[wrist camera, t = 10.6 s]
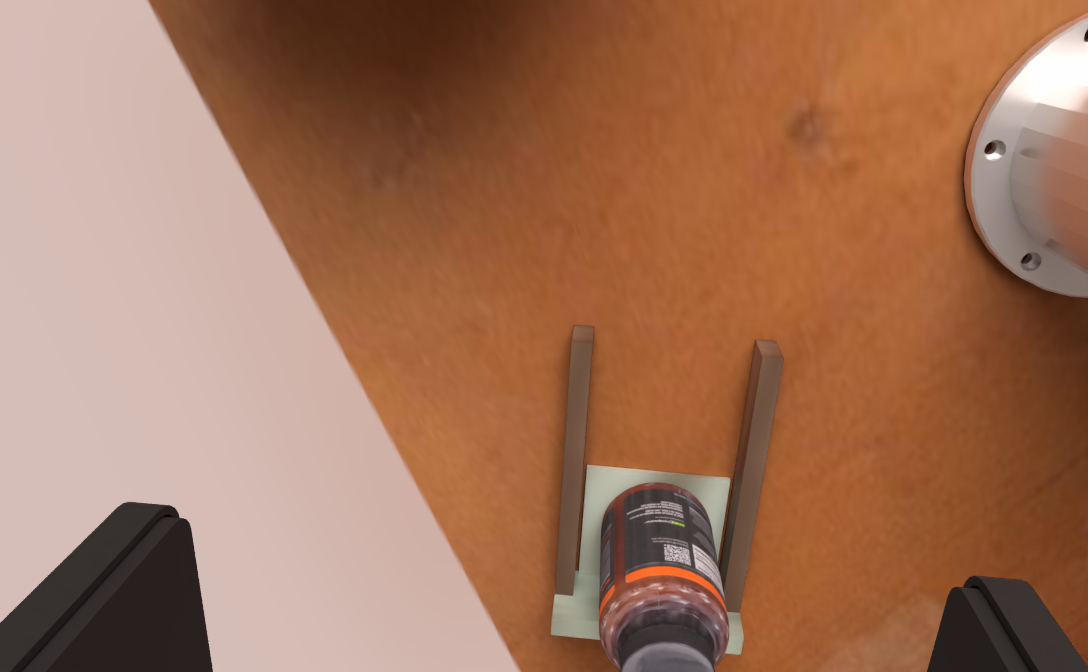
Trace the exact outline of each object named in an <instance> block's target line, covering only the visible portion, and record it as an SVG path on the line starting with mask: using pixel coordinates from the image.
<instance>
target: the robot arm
mask: <svg viewBox="0 0 1088 672" xmlns="http://www.w3.org/2000/svg"><path fill="white" fill-rule="evenodd" d="M1087 29H1088V13H1086V14H1084V15H1082V16H1080V17H1078V18H1076V19H1074V20H1072V21H1070V22H1068V23H1066V24H1064V25H1063V26H1061V27H1059V28H1057V29H1055V30H1054V31H1053V32H1051V33H1050V34H1049V35H1047V36H1046V37H1045V38H1043V39H1042V40H1040V41H1039V42H1038V43H1036V44H1035V45H1034V46H1032V47H1031V48H1030V49H1029V50H1028V51H1027V52H1026V53H1025V54H1024V55H1023V56H1022V57H1021V58H1020V59H1019V60H1018V61H1017V62H1016V63H1015V64H1014V65H1013V66H1012V67H1011V68H1010V69H1009V70H1008V71H1007V72H1006V73H1005V75H1004V76H1003V77H1002V79H1001V80H1000V82H999V83H998V84H997V86H996V87H995V88H994V90H993V91H992V93H991V94H990V95H989V97H988V98H987V100H986V102H985V104H984V106H983V108H982V111H981V113H980V115H979V117H978V119H977V121H976V123H975V125H974V128H973V131H972V135H971V138H970V142H969V145H968V148H967V152H966V161H965V171H964V187H965V196H966V205H967V208H968V211H969V214H970V217H971V220H972V223H973V226H974V229H975V230H976V232H977V234H978V235H979V237H980V238H981V240H982V242H983V243H984V245H985V247H986V248H987V250H988V251H989V252H990V253H991V254H992V255H993V256H994V257H995V258H996V259H997V260H998V261H999V262H1000V263H1001V264H1002V265H1003V266H1005V267H1006V268H1007V269H1009V270H1010V271H1011V272H1013V273H1014V274H1016V275H1017V276H1019V277H1020V278H1022V279H1024V280H1026V281H1028V282H1030V283H1032V284H1034V285H1036V286H1038V287H1040V288H1042V289H1044V290H1047V291H1051V292H1055V293H1058V294H1062V295H1066V296H1070V297H1082V298H1088V39H1087V40H1085V41H1084V35H1085V33H1086V31H1087ZM990 142H991V143H992V148H991V150H990V151H989V152H986V153H984V149H985V147H986V145H987V144H988V143H990ZM1026 254H1027V257H1026V259H1025V260H1023V261H1021V260H1022V258H1023V256H1025V255H1026ZM0 672H213V669H212V663H211V657H210V650H209V643H208V637H207V630H206V624H205V617H204V610H203V604H202V597H201V591H200V584H199V578H198V571H197V564H196V558H195V552H194V545H193V538H192V532H191V527H190V523H189V522H188V521H187V520H186V519H184V518H179V514H178V512H177V510H176V509H175V508H174V507H172V506H170V505H158V504H147V503H136V502H127V503H123V504H122V505H120V506H119V507H118V508H116V509H115V510H114V511H113V512H112V513H111V514H110V515H109V516H108V517H107V518H106V519H105V520H104V522H102V523H101V524H100V525H99V526H98V527H97V528H96V529H95V530H94V531H93V532H92V533H91V534H90V535H89V536H88V537H87V538H86V539H85V540H84V541H83V542H82V543H81V544H80V545H79V546H78V547H77V548H76V549H75V550H74V551H73V552H72V553H71V554H70V555H69V556H68V557H67V558H66V559H65V560H64V561H63V562H62V563H61V564H60V565H59V566H58V567H57V568H56V569H55V570H54V571H53V572H51V574H49V575H48V577H46V578H45V579H44V580H43V582H41V583H40V584H39V586H37V587H36V588H35V589H34V590H33V591H32V592H31V594H29V595H28V596H27V597H26V598H25V599H24V600H23V601H22V602H21V603H20V604H19V605H18V606H17V607H16V608H15V609H14V610H13V611H12V612H11V613H10V614H9V615H8V616H7V617H6V618H5V619H4V620H3V621H2V622H1V623H0ZM927 672H1088V666H1087V665H1086V664H1085V662H1084V661H1083V659H1082V658H1081V656H1080V655H1079V654H1078V652H1077V651H1076V649H1075V648H1074V646H1073V645H1072V644H1071V642H1070V641H1069V639H1068V638H1067V636H1066V635H1065V633H1064V632H1063V631H1062V629H1061V628H1060V626H1059V625H1058V623H1057V622H1056V621H1055V619H1054V618H1053V616H1052V615H1051V613H1050V612H1049V610H1048V609H1047V608H1046V606H1045V605H1044V603H1043V602H1042V600H1041V599H1040V598H1039V596H1038V595H1037V593H1036V592H1035V590H1034V589H1033V588H1032V587H1031V586H1030V585H1029V583H1028V582H1025V581H1023V580H1017V579H1006V578H994V577H983V576H972V577H969V579H968V580H967V581H966V582H965V584H964V587H954V588H953V589H952V590H951V591H950V593H949V595H948V598H947V602H946V605H945V609H944V612H943V616H942V620H941V623H940V627H939V631H938V634H937V638H936V641H935V645H934V649H933V652H932V656H931V659H930V663H929V667H928V670H927Z"/></svg>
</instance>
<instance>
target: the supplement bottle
mask: <svg viewBox="0 0 1088 672" xmlns="http://www.w3.org/2000/svg"><path fill="white" fill-rule="evenodd" d="M599 635H600V640H601V644H602V646H603V649H604V651H605V653H606V655H607V657H608V658H609V660H610V661H611V663H612V664H613V665H614V666H615V667H616V668H617V669H618V670H619V671H620V672H715V670H714V668H715V667H716V666H717V665H718V664H719V663H720V661H721V659H722V658H723V656H724V654H725V652H726V649H727V646H728V641H729V620H728V615H727V609H726V603H725V598H724V592H723V587H722V582H721V577H720V571H719V566H718V560H717V554H716V549H715V544H714V538H713V533H712V527H711V524H710V520H709V517H708V514H707V512H706V510H705V508H704V506H703V505H702V504H701V502H700V501H699V500H698V499H697V498H696V497H695V496H694V495H693V494H691V493H690V492H688V491H687V490H685V489H682V488H680V487H678V486H675V485H672V484H667V483H659V482H656V483H644V484H639V485H636V486H634V487H631V488H629V489H627V490H625V491H624V492H622V493H621V494H620V495H618V496H617V497H616V498H615V499H614V500H613V501H612V502H611V503H610V505H609V506H608V508H607V510H606V512H605V514H604V517H603V521H602V528H601V545H600V590H599Z"/></svg>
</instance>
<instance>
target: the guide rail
mask: <svg viewBox="0 0 1088 672" xmlns="http://www.w3.org/2000/svg"><path fill="white" fill-rule="evenodd" d="M593 336H594V326H581V325H574V330H573V336H572V343H571V358H570V373H569V388H568V403H567V418H566V433H565V448H564V463H563V478H562V493H561V508H560V523H559V538H558V553H557V568H556V583H555V596H554V604H553V613H552V624H551V635H558V636H567V637H577V638H586V639H595V640H600V635H599V590H600V545H601V528H602V521H603V517H604V514H605V512H606V510H607V508H608V506H609V505H610V503H611V502H612V501H613V500H614V499H615V498H616V497H617V496H618V495H620V494H621V493H622V492H624V491H625V490H627V489H629V488H631V487H634V486H636V485H639V484H644V483H656V482H659V483H667V484H672V485H675V486H678V487H680V488H682V489H685V490H687V491H688V492H690V493H691V494H693V495H694V496H695V497H696V498H697V499H698V500H699V501H700V502H701V504H702V505H703V506H704V508H705V510H706V512H707V514H708V517H709V520H710V524H711V527H712V533H713V538H714V544H715V549H716V554H717V560H718V556H719V550H720V544H721V537H722V531H723V525H724V518H725V512H726V506H727V499H728V493H729V487H730V478H727V477H716V476H705V475H694V474H683V473H672V472H661V471H650V470H639V469H629V468H618V467H607V466H596V465H587V474H586V486H585V499H584V512H583V524H582V537H581V549H580V562H579V571H577V570H575V568H576V555H577V542H578V530H579V517H580V504H581V491H582V478H583V465H584V452H585V439H586V426H587V413H588V400H589V387H590V374H591V361H592V349H593ZM783 362H784V358H783V355H782V353H781V351H780V349H779V346H778V344H777V342H776V341H770V340H757V339H756V340H755V346H754V353H753V359H752V365H751V372H750V378H749V384H748V390H747V397H746V403H745V409H744V416H743V422H742V428H741V434H740V441H739V447H738V453H737V460H736V466H735V472H734V478H733V485H732V491H731V497H730V504H729V510H728V516H727V522H726V529H725V535H724V541H723V548H722V554H721V560H720V566H719V571H720V577H721V582H722V587H723V592H724V598H725V603H726V609H727V615H728V620H729V641H728V646H727V649H726V652H725V653H727V654H737V655H741V650H742V645H743V639H744V635H743V629H742V624H741V619H740V607H741V602H742V596H743V590H744V584H745V579H746V573H747V567H748V562H749V556H750V550H751V544H752V539H753V533H754V527H755V522H756V516H757V510H758V504H759V499H760V493H761V487H762V482H763V476H764V470H765V464H766V459H767V453H768V447H769V442H770V436H771V430H772V424H773V419H774V413H775V407H776V402H777V396H778V390H779V384H780V379H781V373H782V367H783Z"/></svg>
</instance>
